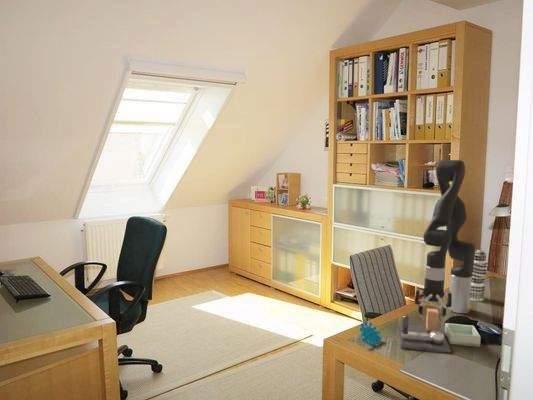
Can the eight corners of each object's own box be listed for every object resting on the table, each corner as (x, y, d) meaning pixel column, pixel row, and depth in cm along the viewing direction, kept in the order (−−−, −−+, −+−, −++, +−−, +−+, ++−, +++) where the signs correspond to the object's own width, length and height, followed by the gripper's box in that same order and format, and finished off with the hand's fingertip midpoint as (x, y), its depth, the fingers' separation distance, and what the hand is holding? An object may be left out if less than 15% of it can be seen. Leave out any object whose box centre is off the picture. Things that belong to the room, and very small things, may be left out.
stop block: (425, 326, 186) (427, 308, 184) (435, 327, 185) (437, 309, 184) (427, 330, 182) (428, 312, 180) (437, 331, 181) (438, 313, 180)
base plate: (396, 327, 188) (396, 323, 188) (440, 331, 185) (440, 327, 184) (400, 348, 169) (400, 344, 169) (450, 353, 165) (450, 349, 165)
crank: (442, 338, 174) (443, 317, 172) (444, 344, 169) (446, 322, 168) (401, 334, 177) (402, 313, 175) (402, 340, 172) (403, 318, 171)
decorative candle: (481, 302, 220) (485, 253, 217) (462, 298, 226) (465, 250, 223) (486, 298, 227) (490, 250, 224) (468, 293, 233) (471, 247, 230)
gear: (367, 346, 166) (357, 321, 172) (358, 352, 170) (348, 328, 176) (388, 343, 172) (377, 319, 178) (378, 349, 176) (368, 326, 181)
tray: (444, 332, 184) (445, 323, 183) (472, 334, 182) (473, 325, 181) (449, 343, 173) (450, 334, 173) (479, 346, 171) (480, 336, 170)
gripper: (451, 276, 183) (448, 313, 185) (415, 273, 186) (412, 310, 187) (454, 281, 175) (451, 320, 177) (417, 278, 178) (414, 316, 180)
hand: (431, 315), depth 182 cm, fingers open, 8 cm apart
